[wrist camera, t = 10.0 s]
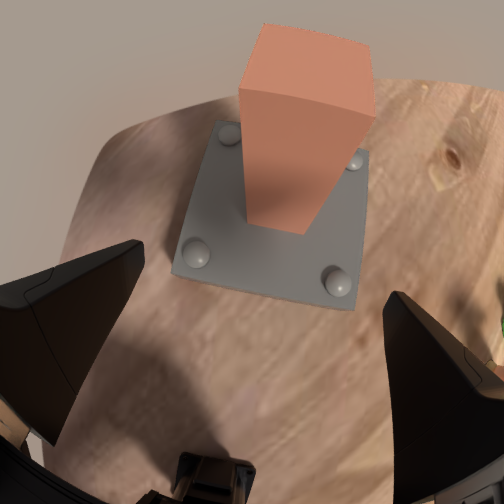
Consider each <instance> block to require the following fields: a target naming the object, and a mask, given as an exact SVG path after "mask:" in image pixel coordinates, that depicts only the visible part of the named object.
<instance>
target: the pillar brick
mask: <svg viewBox="0 0 504 504" xmlns="http://www.w3.org/2000/svg"><path fill="white" fill-rule="evenodd" d="M239 103H240V119H241V135H242V150H243V165H244V180H245V196H246V211H247V224H252V225H257V226H262V227H267V228H272V229H277V230H282V231H287V232H292V233H297V234H301V235H304V234H305V232H306V231H307V229H308V227H309V226H310V224H311V223H312V221H313V220H314V218H315V217H316V215H317V213H318V212H319V210H320V209H321V207H322V205H323V204H324V202H325V201H326V199H327V198H328V196H329V194H330V193H331V191H332V190H333V188H334V186H335V185H336V183H337V181H338V180H339V178H340V177H341V175H342V173H343V172H344V170H345V168H346V167H347V165H348V164H349V162H350V160H351V159H352V157H353V155H354V154H355V152H356V150H357V149H358V147H359V145H360V144H361V142H362V140H363V139H364V137H365V135H366V133H367V132H368V130H369V128H370V127H371V125H372V123H373V122H374V120H375V118H376V112H375V97H374V84H373V74H372V66H371V57H370V50H369V46H368V45H365V44H362V43H358V42H355V41H351V40H348V39H344V38H340V37H336V36H332V35H328V34H324V33H319V32H315V31H310V30H305V29H299V28H294V27H287V26H281V25H273V24H265V23H264V24H263V27H262V29H261V31H260V34H259V36H258V39H257V41H256V44H255V46H254V49H253V51H252V54H251V56H250V59H249V61H248V64H247V67H246V69H245V72H244V75H243V77H242V80H241V83H240V85H239Z"/></svg>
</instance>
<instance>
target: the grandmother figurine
mask: <svg viewBox="0 0 504 504" xmlns="http://www.w3.org/2000/svg"><path fill="white" fill-rule="evenodd" d="M486 366H487V367H488V368H489V369H490V370H491V371H492V372H494V373H495V374H496V375H497V376H498V377H499V378H500V379H502V380H503V381H504V366H500V365H498V366H497V364H495V363H494V362H493V361H491V360H490V361H488V362H487V364H486Z"/></svg>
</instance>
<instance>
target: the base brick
mask: <svg viewBox="0 0 504 504" xmlns="http://www.w3.org/2000/svg"><path fill="white" fill-rule="evenodd" d="M368 174H369V151H367V150H364V149H360V148H358V149H357V150H356V152H355V154H354V155H353V157H352V159H351V160H350V162H349V164H348V165H347V167H346V168H345V170H344V172H343V173H342V175H341V177H340V178H339V180H338V181H337V183H336V185H335V186H334V188H333V190H332V191H331V193H330V194H329V196H328V198H327V199H326V201H325V202H324V204H323V205H322V207H321V209H320V210H319V212H318V213H317V215H316V217H315V218H314V220H313V221H312V223H311V224H310V226H309V227H308V229H307V231H306V232H305V234H304V235H301V234H297V233H292V232H287V231H282V230H277V229H272V228H267V227H262V226H257V225H252V224H247V211H246V196H245V180H244V165H243V150H242V135H241V123H236V122H229V121H221V120H216V122H215V125H214V128H213V130H212V133H211V136H210V139H209V142H208V145H207V148H206V151H205V154H204V157H203V160H202V163H201V166H200V169H199V172H198V176H197V179H196V182H195V185H194V188H193V192H192V195H191V198H190V202H189V205H188V209H187V212H186V216H185V219H184V223H183V226H182V230H181V234H180V238H179V241H178V245H177V249H176V253H175V257H174V261H173V265H172V269H171V274H173V275H175V276H177V277H180V278H182V279H187V280H191V281H195V282H200V283H204V284H208V285H213V286H217V287H222V288H226V289H231V290H236V291H240V292H245V293H250V294H255V295H260V296H265V297H270V298H275V299H280V300H285V301H290V302H295V303H301V304H306V305H311V306H317V307H323V308H328V309H334V310H340V311H354V310H355V304H356V298H357V291H358V285H359V278H360V270H361V262H362V254H363V245H364V235H365V224H366V211H367V196H368Z"/></svg>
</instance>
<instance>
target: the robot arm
mask: <svg viewBox="0 0 504 504" xmlns="http://www.w3.org/2000/svg"><path fill="white" fill-rule="evenodd" d="M144 264H145V257H144V244H143V242H142V241H139V240H134V239H132V240H129V241H126V242H123V243H120V244H117V245H114V246H111V247H108V248H105V249H102V250H99V251H96V252H93V253H90V254H88V255H85V256H82V257H79V258H76V259H74V260H71V261H68V262H66V263H63V264H60V265H57V266H55V268H54V267H52V268H50V269H47V270H44V271H41V272H39V273H36V274H33V275H30V276H27V277H25V278H21V279H19V280H15V281H12V282H9V283H6V284H3V285H0V504H109V503H106V502H104V501H102V500H100V499H98V498H96V497H94V496H92V495H90V494H88V493H86V492H84V491H82V490H80V489H78V488H77V487H75V486H73V485H71V484H70V483H68V482H66V481H64V480H63V479H61V478H59V477H58V476H56V475H55V474H53V473H51V472H50V471H48V470H47V469H45V468H44V467H42V466H41V465H39V464H38V463H37V462H35V461H34V460H32V459H31V456H30V452H29V448H28V445H27V441H26V438H27V436H28V434H29V432H31V433H33V434H34V435H36V436H37V437H39V438H40V439H42V440H43V441H45V442H46V443H48V444H49V445H51V446H53V447H54V446H55V444H56V442H57V440H58V437H59V435H60V433H61V430H62V428H63V426H64V423H65V421H66V419H67V416H68V414H69V412H70V410H71V408H72V406H73V403H74V401H75V399H76V397H77V395H78V392H79V390H80V388H81V386H82V384H83V382H84V380H85V378H86V376H87V374H88V372H89V370H90V368H91V366H92V364H93V363H94V361H95V359H96V357H97V355H98V353H99V351H100V349H101V347H102V346H103V344H104V342H105V340H106V338H107V336H108V335H109V333H110V331H111V329H112V328H113V326H114V324H115V322H116V321H117V319H118V317H119V315H120V314H121V312H122V310H123V308H124V307H125V305H126V303H127V302H128V300H129V298H130V296H131V294H132V291H133V289H134V287H135V285H136V283H137V280H138V278H139V276H140V274H141V272H142V270H143V268H144ZM382 315H383V330H384V347H385V356H386V363H387V371H388V379H389V387H390V397H391V408H392V422H393V440H394V494H393V504H423V503H426V502H430V501H433V500H434V504H504V381H503V380H502V379H500V378H499V377H498V376H497V375H496V374H495V373H494V372H492V371H491V370H490V369H489V368H488V367H487V366H486V365H485V364H483V363H482V362H481V361H480V360H479V359H478V358H477V357H476V356H475V355H474V354H472V353H471V352H470V351H469V350H468V349H467V348H466V347H465V346H463V344H462V343H461V342H460V341H459V340H457V339H456V338H455V337H454V336H453V335H452V334H451V333H450V332H449V331H448V330H446V329H445V328H444V327H443V326H442V325H441V324H440V323H439V322H438V321H436V320H435V319H434V318H433V317H432V316H431V315H430V314H428V313H427V312H426V311H425V310H424V309H423V308H421V307H420V306H419V305H418V304H417V303H416V302H414V301H413V300H412V299H411V298H410V297H409V296H407V295H406V294H405V293H404V292H400V291H393V292H392V293H391V294H390V296H389V298H388V300H387V302H386V304H385V306H384V308H383V313H382ZM184 456H186V457H187V458H188V459H185V458H184ZM249 470H251V471H252V472H250V473H249V472H247V471H249ZM255 474H256V469H255V468H254V467H252V466H247V465H241V464H235V463H233V462H230V461H225V460H220V459H215V458H211V457H207V456H204V457H203V456H199V455H195V454H191V453H187V452H183V453H181V455H180V457H179V464H178V470H177V476H176V483H175V489H174V494H173V496H172V498H169V497H167V496H164V495H161V494H159V492H157V491H154V490H152V489H151V490H150V492H149V493H148V494H145V495H144V496H143V497H142V498H141V499H140V500H139V501H138V502H137V503H136V504H246V503H247V500H248V497H249V494H250V491H251V487H252V484H253V481H254V478H255Z"/></svg>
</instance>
